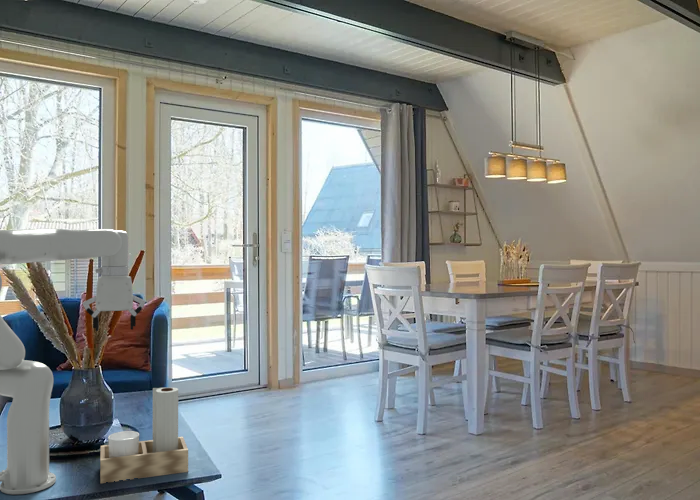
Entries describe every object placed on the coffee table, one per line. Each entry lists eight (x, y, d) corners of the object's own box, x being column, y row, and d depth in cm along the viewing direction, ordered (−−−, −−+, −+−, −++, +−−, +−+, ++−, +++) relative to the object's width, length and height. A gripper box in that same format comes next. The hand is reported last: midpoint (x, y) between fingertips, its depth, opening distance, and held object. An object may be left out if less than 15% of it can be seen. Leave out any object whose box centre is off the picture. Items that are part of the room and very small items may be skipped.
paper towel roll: (180, 467, 167) (180, 390, 167) (158, 471, 164) (158, 392, 164) (174, 459, 173) (174, 384, 173) (152, 462, 170) (152, 387, 170)
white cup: (129, 464, 169) (129, 429, 169) (144, 471, 164) (145, 434, 164) (102, 473, 163) (102, 436, 163) (117, 480, 158) (117, 442, 158)
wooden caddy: (100, 483, 155) (100, 460, 155) (100, 467, 167) (100, 445, 167) (188, 471, 164) (188, 449, 164) (182, 457, 175) (182, 436, 175)
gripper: (81, 273, 172) (81, 333, 173) (145, 272, 178) (145, 330, 179) (83, 271, 179) (83, 329, 180) (145, 271, 186) (144, 326, 186)
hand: (114, 329), depth 179 cm, fingers open, 9 cm apart
